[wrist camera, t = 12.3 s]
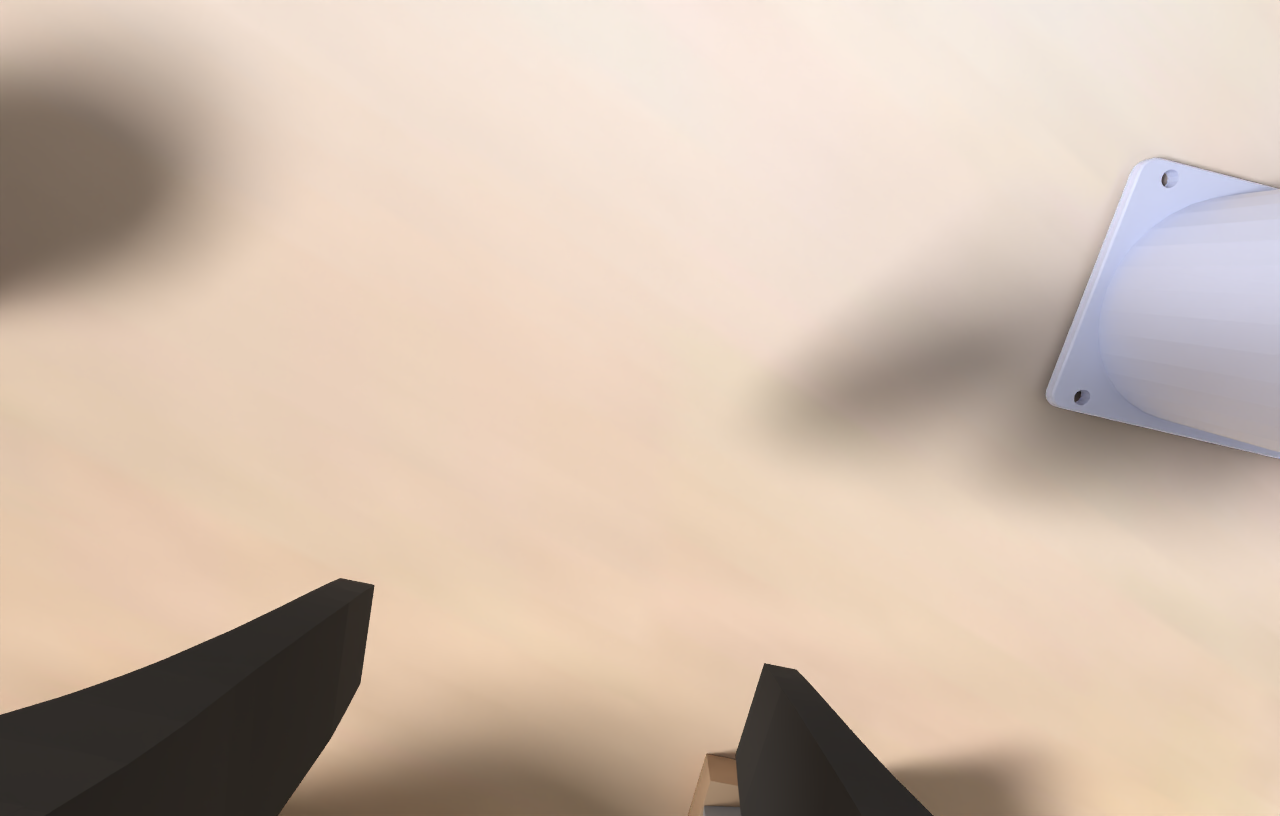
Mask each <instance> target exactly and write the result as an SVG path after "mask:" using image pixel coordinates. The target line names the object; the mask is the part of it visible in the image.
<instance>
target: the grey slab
mask: <svg viewBox="0 0 1280 816" xmlns="http://www.w3.org/2000/svg"><path fill="white" fill-rule="evenodd" d="M703 816H741V811H740V807H724V806H704V811H703Z"/></svg>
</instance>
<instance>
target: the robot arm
mask: <svg viewBox="0 0 1280 816" xmlns="http://www.w3.org/2000/svg"><path fill="white" fill-rule="evenodd" d="M1164 173H1166V175H1167V177H1168V180H1167V184H1166V185H1165V186H1163V184H1162V182H1161V180H1162V176H1163V174H1164ZM1078 391H1081V397H1080V399H1079V400H1078V401H1076V402H1075V401H1074V396H1075V394H1076V393H1077V392H1078ZM1046 399H1047V401H1048V402H1049V403H1050V404H1051V405H1053V406H1056V407H1059V408H1062V409H1066V410H1071V411H1075V412H1079V413H1084V414H1088V415H1092V416H1097V417H1101V418H1105V419H1110V420H1114V421H1118V422H1123V423H1127V424H1131V425H1135V426H1140V427H1144V428H1148V429H1153V430H1157V431H1161V432H1166V433H1170V434H1174V435H1179V436H1183V437H1187V438H1191V439H1196V440H1200V441H1204V442H1209V443H1213V444H1217V445H1222V446H1226V447H1230V448H1235V449H1239V450H1243V451H1248V452H1252V453H1256V454H1260V455H1265V456H1269V457H1273V458H1278V459H1280V189H1278V188H1274V187H1270V186H1266V185H1263V184H1259V183H1255V182H1251V181H1247V180H1243V179H1239V178H1236V177H1232V176H1228V175H1224V174H1220V173H1216V172H1212V171H1209V170H1205V169H1201V168H1197V167H1193V166H1189V165H1185V164H1182V163H1178V162H1174V161H1170V160H1166V159H1162V158H1151V159H1146V160H1143V161H1141V162H1139V163H1138V164H1137V165H1135V166H1134V168H1133V169H1132V171H1131V173H1130V175H1129V178H1128V181H1127V183H1126V186H1125V188H1124V191H1123V193H1122V196H1121V199H1120V201H1119V204H1118V206H1117V209H1116V211H1115V214H1114V217H1113V219H1112V222H1111V224H1110V227H1109V229H1108V232H1107V235H1106V237H1105V240H1104V242H1103V245H1102V248H1101V250H1100V253H1099V255H1098V258H1097V260H1096V263H1095V266H1094V268H1093V271H1092V273H1091V276H1090V278H1089V281H1088V284H1087V286H1086V289H1085V291H1084V294H1083V296H1082V299H1081V302H1080V304H1079V307H1078V309H1077V312H1076V314H1075V317H1074V320H1073V322H1072V325H1071V327H1070V330H1069V332H1068V335H1067V338H1066V340H1065V343H1064V345H1063V348H1062V351H1061V353H1060V356H1059V358H1058V361H1057V363H1056V366H1055V369H1054V371H1053V374H1052V376H1051V379H1050V381H1049V384H1048V387H1047V389H1046ZM373 592H374V585H372V584H367V583H362V582H357V581H352V580H347V579H342V578H340V579H337V580H335V581H333V582H330V583H328V584H326V585H324V586H322V587H320V588H318V589H316V590H313V591H311V592H309V593H307V594H305V595H303V596H301V597H299V598H297V599H295V600H293V601H291V602H289V603H287V604H285V605H283V606H281V607H279V608H277V609H275V610H273V611H271V612H269V613H266V614H264V615H262V616H260V617H258V618H256V619H254V620H252V621H250V622H248V623H246V624H244V625H241V626H239V627H237V628H235V629H233V630H231V631H229V632H226V633H224V634H222V635H219V636H217V637H215V638H212V639H210V640H208V641H205V642H203V643H201V644H199V645H196V646H194V647H192V648H189V649H187V650H185V651H182V652H180V653H178V654H176V655H173V656H171V657H169V658H166V659H164V660H161V661H159V662H156V663H154V664H151V665H149V666H146V667H144V668H141V669H138V670H136V671H133V672H131V673H128V674H125V675H123V676H120V677H117V678H114V679H111V680H108V681H106V682H103V683H100V684H97V685H94V686H91V687H89V688H86V689H83V690H80V691H77V692H74V693H71V694H68V695H65V696H62V697H59V698H56V699H52V700H49V701H46V702H42V703H39V704H35V705H32V706H29V707H25V708H22V709H19V710H15V711H12V712H9V713H5V714H2V715H0V816H278V814H279V813H280V811H281V810H282V808H283V807H284V806H285V804H286V803H287V801H288V800H289V798H290V797H291V796H292V794H293V793H294V791H295V790H296V788H297V787H298V786H299V784H300V783H301V781H302V780H303V778H304V777H305V775H306V774H307V773H308V771H309V770H310V768H311V767H312V765H313V764H314V762H315V761H316V759H317V758H318V757H319V755H320V754H321V752H322V751H323V749H324V748H325V746H326V745H327V743H328V742H329V740H330V739H331V737H332V735H333V734H334V732H335V730H336V728H337V726H338V724H339V723H340V721H341V719H342V717H343V715H344V714H345V712H346V710H347V708H348V706H349V704H350V702H351V700H352V698H353V696H354V695H355V693H356V691H357V689H358V687H359V685H360V682H361V675H362V668H363V662H364V655H365V648H366V641H367V634H368V627H369V620H370V613H371V606H372V599H373ZM736 768H737V780H738V792H739V801H740V811H741V816H933V815H932V814H931V813H930V812H929V811H928V810H927V809H926V808H925V807H924V806H923V805H922V804H921V803H920V802H919V801H918V800H917V799H916V798H915V797H914V796H913V795H912V794H911V793H910V792H909V791H908V790H907V789H906V788H905V787H904V786H903V785H902V784H901V783H900V782H899V781H898V780H897V779H896V778H895V777H894V776H893V775H892V774H891V773H890V772H889V771H888V770H887V768H886V767H885V766H884V765H883V764H882V763H881V762H880V761H879V760H878V759H877V758H876V757H875V756H874V755H873V754H872V752H871V751H870V750H869V749H868V748H867V747H866V746H865V745H864V744H863V743H862V742H861V740H860V739H859V738H858V737H857V736H856V735H855V734H854V733H853V732H852V730H851V729H850V728H849V727H848V726H847V725H846V724H845V723H844V721H843V720H842V719H841V718H840V717H839V716H838V715H837V714H836V712H835V711H834V710H833V709H832V708H831V707H830V706H829V704H828V703H827V702H826V701H825V700H824V699H823V698H822V697H821V695H820V694H819V693H818V692H817V691H816V690H815V689H814V688H813V687H812V685H811V684H810V683H809V682H808V681H807V680H806V679H805V678H804V677H803V676H802V675H801V674H800V673H799V672H798V671H797V670H795V669H790V668H785V667H780V666H775V665H770V664H765V663H764V666H763V669H762V672H761V676H760V679H759V682H758V685H757V688H756V691H755V695H754V698H753V701H752V704H751V707H750V711H749V714H748V717H747V720H746V723H745V727H744V730H743V733H742V736H741V739H740V742H739V746H738V749H737V752H736Z"/></svg>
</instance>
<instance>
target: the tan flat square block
mask: <svg viewBox="0 0 1280 816" xmlns="http://www.w3.org/2000/svg"><path fill="white" fill-rule="evenodd" d="M704 806H724V807H740V801H739V792H738V780H737V768H736V759H731V758H726V757H720V756H715V755H710V754H706V757H705V760H704V764H703V767H702V770H701V774H700V777H699V780H698V784H697V787H696V790H695V794H694V797H693V800H692V804H691V807H690V810H689V813H688V816H703V811H704Z"/></svg>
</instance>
